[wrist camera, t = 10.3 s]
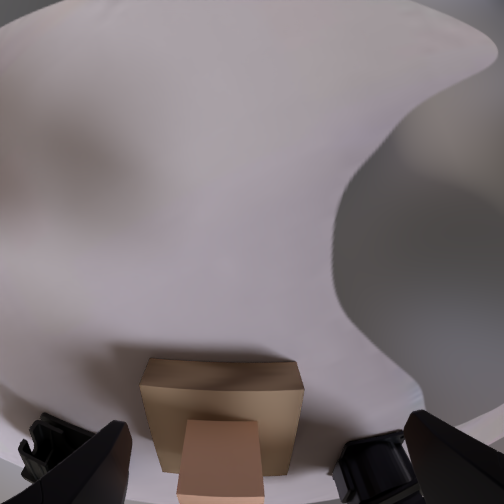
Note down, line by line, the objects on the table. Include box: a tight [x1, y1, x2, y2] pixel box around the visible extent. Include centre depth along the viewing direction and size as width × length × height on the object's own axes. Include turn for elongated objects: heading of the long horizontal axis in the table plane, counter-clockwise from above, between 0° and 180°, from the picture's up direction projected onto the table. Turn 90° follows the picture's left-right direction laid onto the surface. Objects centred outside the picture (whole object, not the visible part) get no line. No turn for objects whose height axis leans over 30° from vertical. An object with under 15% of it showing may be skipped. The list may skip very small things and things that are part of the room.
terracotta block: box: [176, 420, 265, 504], centre depth 15 cm, size 4×4×6 cm
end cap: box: [18, 412, 129, 504], centre depth 19 cm, size 10×7×7 cm
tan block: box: [139, 358, 305, 476], centre depth 19 cm, size 10×10×3 cm
